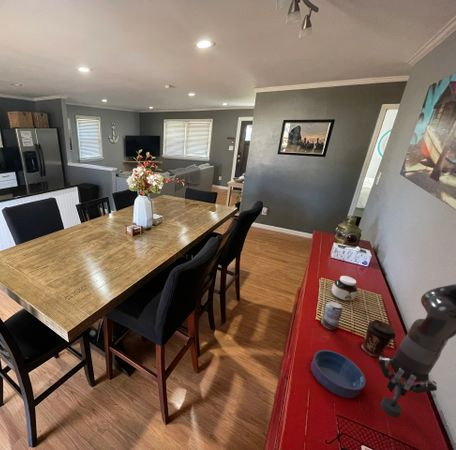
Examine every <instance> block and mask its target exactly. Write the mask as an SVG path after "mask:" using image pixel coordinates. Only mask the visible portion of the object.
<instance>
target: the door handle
mask: <svg viewBox="0 0 456 450" xmlns="http://www.w3.org/2000/svg"><path fill="white" fill-rule="evenodd" d="M402 381H403V377H400V379H399V380H398V381H397V382H396V386H395V387H394V389H393V390H394V393H393V395H394V396H393V398H391V397H383V398H382V400H381V401H380V408H381V410H382V411H383V412H384V413H385V414H387V415H388V416H390V417H392V418H399V417H400V416H401V414H402V412H403V409H402V406H401V405H400V404H399V403H398V402H399V400H400V398H401V397H402V395H401V384H402V383H403V382H402Z"/></svg>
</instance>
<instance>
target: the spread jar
mask: <svg viewBox="0 0 456 450" xmlns="http://www.w3.org/2000/svg"><path fill="white" fill-rule="evenodd" d="M356 284H357V280H356V279H355V278H353V277H350V276H348V275H341V276H340V277H339V279H336V280H335V281H334V282H333V283H332V286H331V293H332V295H333V297H335V298H336V299H337V300H339V301H341V302H351V301H353V300H354V299H355V298H356V296H357V294H358V287H357V285H356Z"/></svg>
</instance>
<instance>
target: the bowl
mask: <svg viewBox="0 0 456 450" xmlns="http://www.w3.org/2000/svg"><path fill="white" fill-rule="evenodd" d="M310 370H311V373H312V374H313V375H312V376H313V377H314V378H315V380H317V382H318V383H319V384H320V385H321V386H323V387H324V388H325V390H326V389H327V390H328V391H329V392H331V393H332V394H334V395H337V396H339V397H342V398H346V399H354V398H357V397H358V396H360V395H361V393H362V391H363V390H364V388H365V386H366V378H365V377H366V376H365V374H364V373H363V371H362V370H361V368H360V367H359V366H358V365H356V363H355V362H354V361H352V360H351V359H350V358H348V357H347V356H344V355H343V354H341V353H340V352H339V353H338V352H336V351H333V350H328V349H320V350H318V351H316V352H315V353H314V356H313V358H312V361H311V363H310Z"/></svg>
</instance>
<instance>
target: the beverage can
mask: <svg viewBox="0 0 456 450" xmlns="http://www.w3.org/2000/svg"><path fill="white" fill-rule="evenodd" d="M342 313H343V306H342V305H341V304H339V302H335V301H328V302H327V303H326V305H325V308H324V311H323V314H322V318H321V321H320V323H321V324H322V326H323V327H324V328H326V329H328V330H337V328H338V325H339V322H340V320H341V317H342Z"/></svg>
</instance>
